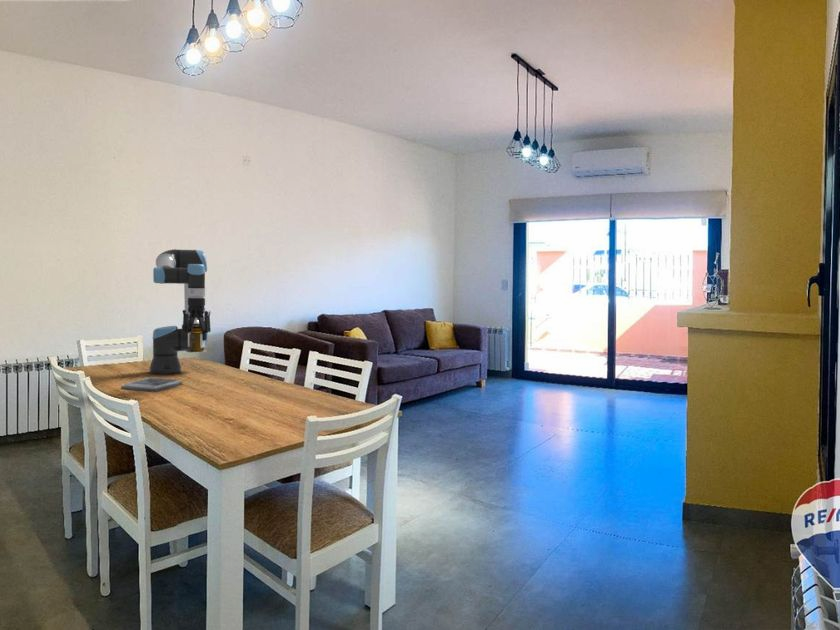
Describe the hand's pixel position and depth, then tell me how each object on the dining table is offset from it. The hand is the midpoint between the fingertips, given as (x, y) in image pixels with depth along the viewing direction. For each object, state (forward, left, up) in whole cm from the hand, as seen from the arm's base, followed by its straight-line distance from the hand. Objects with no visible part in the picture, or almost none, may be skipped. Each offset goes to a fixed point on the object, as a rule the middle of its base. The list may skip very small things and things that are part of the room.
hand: (196, 346), depth 284 cm
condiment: (0, -1, -2) cm, 2 cm away
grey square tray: (+14, -13, -17) cm, 26 cm away
